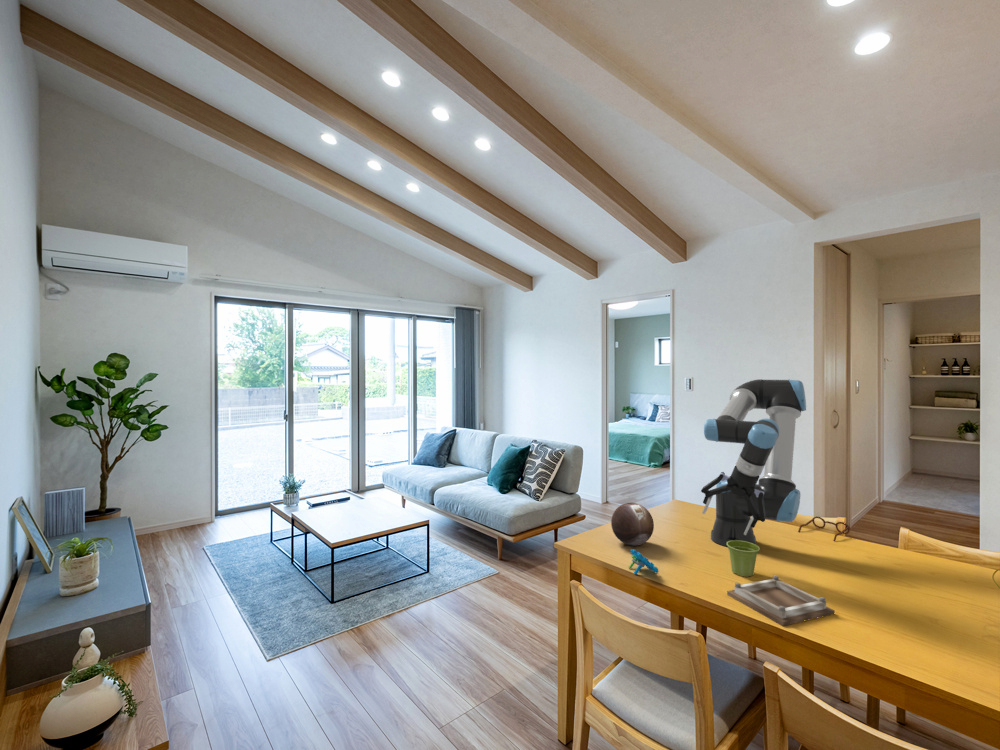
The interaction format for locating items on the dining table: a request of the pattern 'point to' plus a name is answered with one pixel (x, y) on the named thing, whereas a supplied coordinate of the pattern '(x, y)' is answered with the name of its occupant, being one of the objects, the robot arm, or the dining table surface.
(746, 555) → the plant pot
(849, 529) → the glasses
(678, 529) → the dining table surface
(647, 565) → the blue plastic toy
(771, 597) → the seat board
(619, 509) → the wooden sphere
